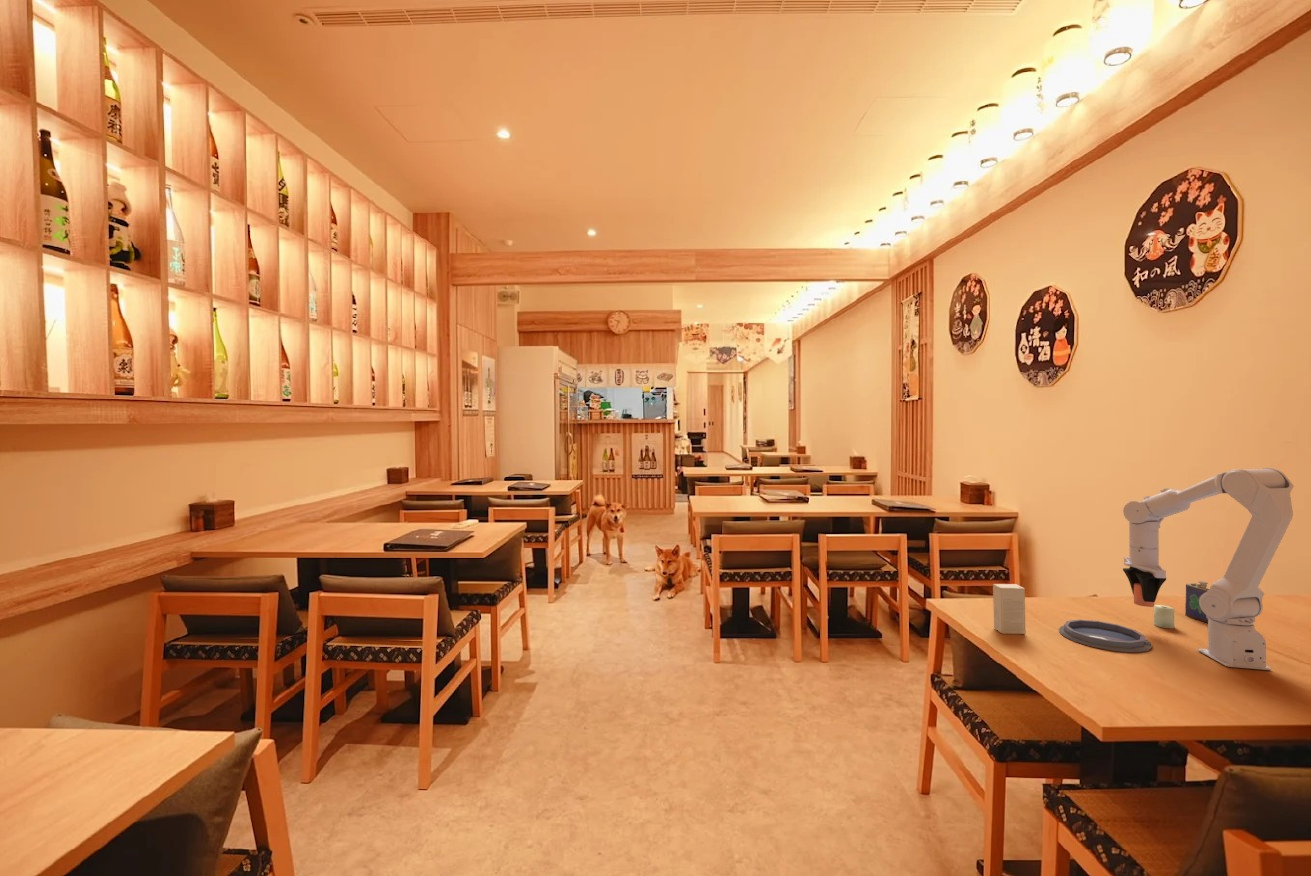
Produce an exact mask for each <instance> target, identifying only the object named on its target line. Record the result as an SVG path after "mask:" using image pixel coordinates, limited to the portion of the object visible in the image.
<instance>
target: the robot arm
mask: <svg viewBox="0 0 1311 876" xmlns="http://www.w3.org/2000/svg"><path fill="white" fill-rule="evenodd" d="M1294 487H1295V486H1294V484H1293V483H1292V482H1291V481H1290V479H1289V478H1288V477H1287V475H1286V474H1285V473H1284V472H1282V471H1281V470H1279V469H1276V468H1271V467H1265V468H1257V469H1256V468H1255V469H1253V468H1251V469H1250V468H1249V469H1243V468H1234V469H1231V470H1229V471H1227V472H1226V471H1225V472H1220V473H1218V474H1216V475H1214V476H1212V477H1209V478H1206V479H1205V480H1202V481H1200V482H1198V483H1195V484H1193V485H1191V486H1189V487H1186V488H1184V489H1181V490H1179V489H1177V488H1170V487H1169V488H1162V489H1160V493H1156V494H1154V495H1152V496H1150V495H1149V496H1148V495H1147V496H1144V497H1143V499H1142V501H1141V500H1140V501H1137V500H1131V501H1129V502H1128V503H1126V504H1125V505H1124V507H1123V509H1122V510H1123V511H1122V513H1123V516H1124V518H1125V519H1126V520H1127V521H1128V523H1129V524H1128V525H1129V527H1128V528H1129V530H1128V531H1129V532H1128V533H1129V535H1128V536H1129V537H1128V539H1129V541H1128V543H1129V545H1128V546H1129V549H1128V550H1129V557H1123V565H1124V566H1126V567H1124V568H1122V571H1123V572H1124V573H1125V576H1126V578H1127V579H1128V582H1129V585H1130V588H1131V592H1132V595H1133V596H1134V584H1135V583H1140V584H1141V589H1142V596H1143V600H1144V601H1145V602H1154V603H1156V600H1157V598H1158V597H1157V596H1158V593H1159V591H1160V589H1161V587H1162V585H1163V584H1164V583H1165V582H1166V581H1167V571H1166V570H1165V569H1163V568H1162V567H1161V566H1160V563H1159V562H1160V561H1159V559H1160V558H1159V556H1160V554H1159V552H1160V551H1159V549H1160V548H1159V546H1160V545H1159V537H1160V536H1159V529H1160V528H1161V523H1162V522H1163V521H1164V519H1165V518H1167V517H1171V516H1173V515H1177V514H1180V513H1181V512H1182V513H1183V512H1185V511H1188V510H1189V509H1190V506H1191V503H1195V502H1197V501H1201V500H1204V499H1207V498H1210V497H1214V496H1217V495H1218V496H1219V495H1222V494H1227V495H1228V496H1230V497H1231V498H1233V500H1235V501H1236V502H1238V504H1240V505H1241V506H1242V507H1244V509H1247V511H1248V512H1249V513H1250V515H1251V518H1250V520H1249V522H1248V523H1247V527H1246V528H1245V531H1244V532H1243V535H1242V537H1241V539H1240V541H1239V544H1238V546H1237V548H1236V549H1235V552H1234V553H1233V557H1232V558H1231V560H1230V563H1229V565H1228V566H1227V568H1226V570H1225V572H1224V575H1223V576H1222V577H1221V578H1219V579H1218V580H1217V581H1215V582H1214V583H1212V584H1211V586H1210V588H1208V589H1209V590H1208V591H1207V592H1205V593H1203V594H1202V595H1201V597H1200V599H1199V605H1200V608H1201V610H1202V611H1203V612H1204V613H1205V614H1206V618H1208V623H1207V648H1197V651H1198V652H1200V653H1201V654H1203V655H1206V656H1207V657H1209V658H1211V659H1212V660H1214V661H1215V662H1217V663H1219V664H1221V665H1223V666H1225V667H1229V668H1239V669H1240V668H1241V669H1250V670H1251V669H1252V670H1264V671H1272V667H1270V666H1268V665H1267V642H1266V639H1265V637H1264V636H1263V634H1261V633H1260V632H1258V630H1256V627H1255V624H1254V623H1255V622H1256V618H1257V617H1259V616H1260V615H1261V614H1262V612H1263V609H1264V608H1263V607H1264V606H1263V598H1264V596H1265V593H1264V591H1263V590H1262V589H1261V588H1260V587H1259V586H1260V584H1261V583H1262V579H1263V577H1264V576H1265V574H1266V572H1267V570H1268V568H1269V565H1270V564H1271V562H1272V559H1273V558H1274V556H1275V553H1277V549H1278V548H1279V545H1280V544H1281V542H1282V539H1283V538H1284V536H1285V535H1286V534H1285V533H1286V532H1287V530H1288V528H1289V525H1290V523H1291V522H1292V520H1293V516H1294V510H1293V505H1292V497H1291V492H1292V491H1293V488H1294Z"/></svg>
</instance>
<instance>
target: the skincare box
mask: <svg viewBox="0 0 1311 876" xmlns="http://www.w3.org/2000/svg"><path fill="white" fill-rule="evenodd" d="M992 592H993V593H992V596H993V598H992V599H993V600H992V601H993V629H994V628H995V629H994V630H996V631H997V630H998V631H997V632H999V633H1000V634H1001V635H1002V634H1003V635H1004V634H1005V635H1006V634H1007V635H1008V634H1010V635H1011V634H1012V635H1025V634H1026V632H1027V630H1026V589H1025V587H1023V586H1020V585H1019V584H1017V583H993V584H992Z"/></svg>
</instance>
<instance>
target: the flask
mask: <svg viewBox="0 0 1311 876" xmlns="http://www.w3.org/2000/svg"><path fill="white" fill-rule="evenodd" d="M1197 582H1198V583H1199V584H1198V583H1196V582H1195V583H1186V584H1185V613H1184V615H1185V617H1188V618H1191V619H1194V620H1197V621H1200V622H1203V623H1206V624H1208V618H1206V614H1205V613H1204V612H1203V611H1202V610H1201V608H1200V605H1199V599H1200V597H1201V595H1202V594H1203V593H1205V592H1207V591H1208V590H1209V589H1210V588H1208V587H1207V586H1208V585H1209V583H1208V582H1207V581H1202V580H1198V581H1197Z"/></svg>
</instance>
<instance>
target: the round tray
mask: <svg viewBox="0 0 1311 876" xmlns="http://www.w3.org/2000/svg"><path fill="white" fill-rule="evenodd" d="M1058 632H1059V634H1061V636H1063V637H1064V638H1066V639H1068V640H1070V641H1072V642H1075V643H1076V644H1077V643H1078V644H1080V645H1084V646H1087V647H1091V648H1095V649H1098V650H1105V651H1111V652H1116V653H1117V652H1119V653H1130V654H1131V653H1137V654H1138V653H1139V654H1140V653H1144V652H1145V653H1146V652H1149V651H1150V650H1151V649H1152V648H1153V647H1152V643H1151V642H1150V641H1149V640H1148V639H1147V638H1146V635H1145V634H1143V633H1141V632H1139V631H1138V630H1136V629H1132V628H1131V627H1127V626H1123V625H1121V624H1117V623H1111V622H1107V621H1105V622H1104V621H1100V620H1089V619H1074V620H1066V622H1065V623H1064V624H1063V625H1062V626H1060V627H1059V629H1058Z"/></svg>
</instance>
